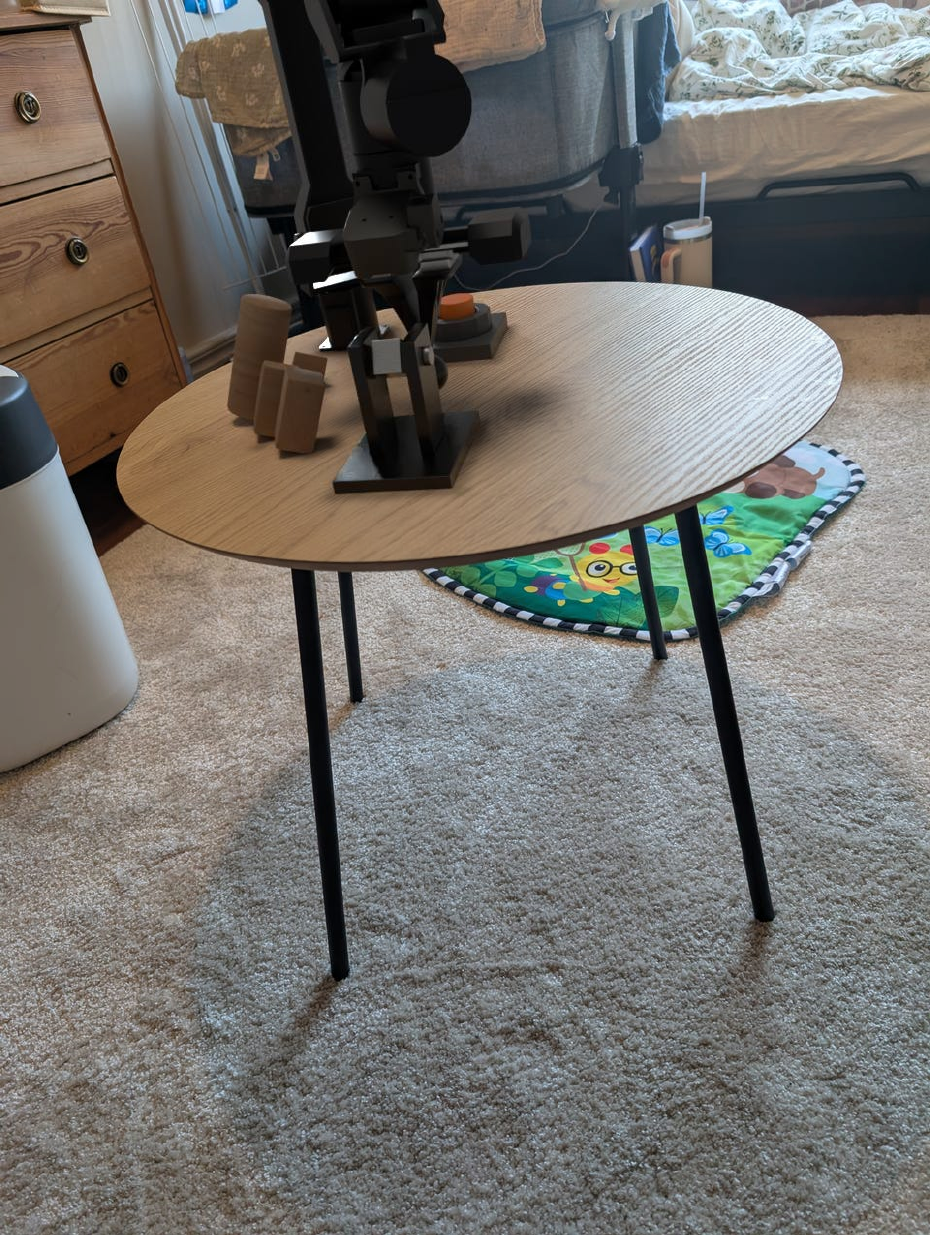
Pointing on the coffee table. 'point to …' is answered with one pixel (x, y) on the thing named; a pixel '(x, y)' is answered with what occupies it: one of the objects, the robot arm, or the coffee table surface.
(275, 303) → the wooden block set
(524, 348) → the coffee table surface
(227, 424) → the coffee table surface
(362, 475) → the bracket
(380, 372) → the lever
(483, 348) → the switch block
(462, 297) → the button
